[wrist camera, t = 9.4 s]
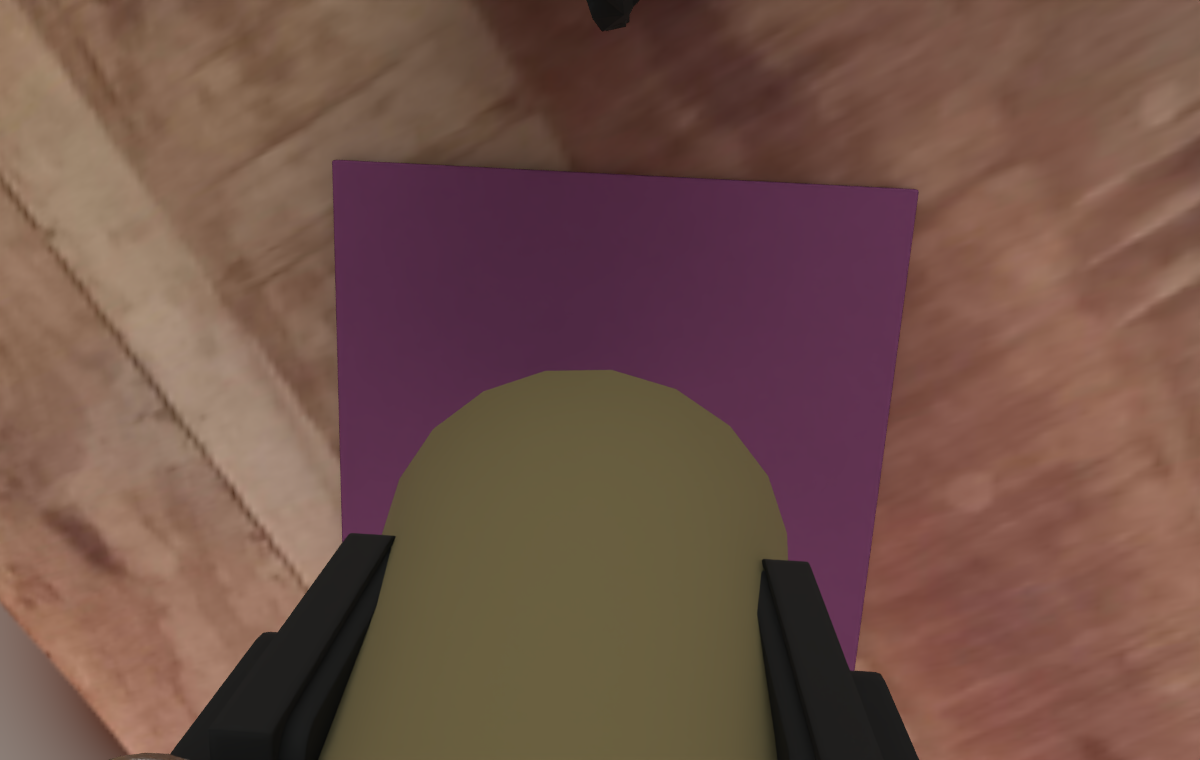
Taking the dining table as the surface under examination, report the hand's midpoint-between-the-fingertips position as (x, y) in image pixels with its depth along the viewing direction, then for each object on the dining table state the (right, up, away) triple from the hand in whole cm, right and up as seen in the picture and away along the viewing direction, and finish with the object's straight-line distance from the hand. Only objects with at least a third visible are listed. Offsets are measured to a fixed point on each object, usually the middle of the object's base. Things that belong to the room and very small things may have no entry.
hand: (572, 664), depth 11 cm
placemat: (0, -1, +17) cm, 17 cm away
